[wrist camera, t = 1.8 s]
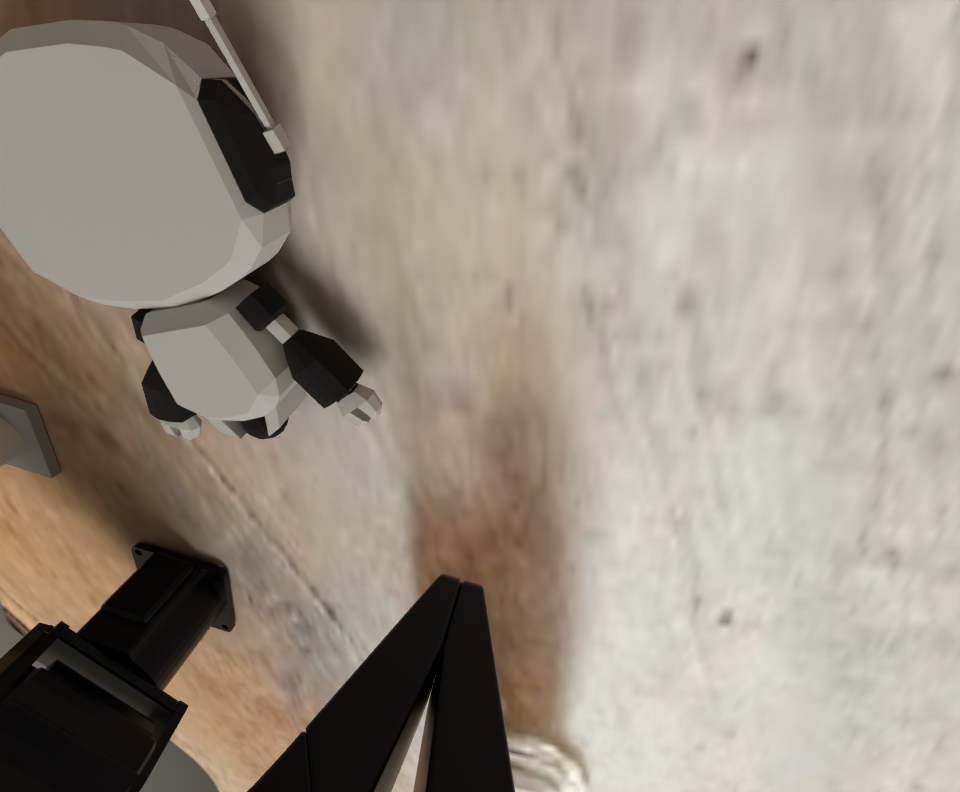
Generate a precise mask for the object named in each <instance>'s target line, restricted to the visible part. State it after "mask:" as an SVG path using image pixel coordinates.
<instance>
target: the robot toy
mask: <svg viewBox="0 0 960 792" xmlns="http://www.w3.org/2000/svg"><path fill="white" fill-rule="evenodd" d="M190 2H191V4H192V5H193V7H194V9H195V11H196V12H197V14H198V16H199V18H200V19H201V21H203V20H204V21H205V23H206V25H207V27H208V28H209V30H210V32H211V34H212V35H213V37H214V39H215V41H216V42H217V44H218V46H219V48H220V49H221V51H222V53H223V55H224V56H225V58H226V60H227V62H228V63H229V65H230V67H231V69H232V70H233V72H234V73H233V72H232V71H231V70H230V69H229V68H228V66H227V65H226V64H225V63H224V62H223V61H222V60H221V58H220V57H219V56H218V55H217V54H216V53H215V52H214V50H213V49H212V48H211V47H210V46H209V45H208V44H207V43H204V42H202V41H200V40H198V39H196V38H194V37H192V36H190V35H188V34H186V33H183V32H181V31H179V30H177V29H175V28H171V27H166V26H161V25H156V24H142V23H128V22H114V21H94V20H65V21H59V22H52V23H46V24H40V25H33V26H27V27H20V28H14V29H10V30H9V31H8V32H6V33H5V34H4V35H3V36H2V37H1V38H0V228H1V230H2V231H3V232H4V234H5V235H6V236H7V238H8V239H9V240H10V242H11V243H12V244H13V246H14V247H15V248H16V250H17V251H18V252H19V254H20V255H21V256H22V258H23V259H24V260H25V262H26V263H27V264H28V266H29V267H30V268H31V270H32V271H33V272H35V273H37V274H39V275H40V276H42V277H44V278H46V279H48V280H50V281H51V282H53V283H55V284H57V285H59V286H60V287H62V288H64V289H66V290H68V291H69V292H71V293H73V294H75V295H78V296H80V297H83V298H85V299H88V300H91V301H93V302H96V303H100V304H104V305H109V306H116V307H124V308H132V309H139V310H138V311H137V312H136V313H135V314H134V315H133V316H131V318H132V322H133V325H134V329H135V333H136V337H137V339H138V340H140V341H141V342H143V343H145V344H146V347H147V349H148V351H149V353H150V356H151V358H152V362H151V364H150V366H149V367H148V370H147V372H146V374H145V376H144V379H143V381H142V387H143V390H144V394H145V397H146V401H147V405H148V408H149V412H150V414H151V415H153V416H154V417H156V418H157V419H160V420H161V421H160V423H161V424H162V426H163V428H164V429H165V431H166V432H167V433H169V434H171V435H174V436H177V437H179V436H180V435H181V434H182V436H183V437H184V439H188V440H192V439H194V438H196V437H198V436H199V435H200V432H201V424H202V420H201V419H200V418H199V417H198V416H197V415H196V414H199V415H201V416H203V417H205V418H206V419H207V420H208V421H209V422H211V423H212V424H213V425H214V426H215V427H216V428H217V429H218V430H219V431H220V432H221V433H223V434H226V435H230V436H233V437H236V438H239V439H241V438H242V437H243V436H244V435H245V434H246V433H248V434H249V435H251V436H254V437H256V438H258V439H267V438H273V437H276V436H277V435H279V434H280V433H281V432H283V431H284V429H285V427H286V425H287V423H288V418H289V416H290V415H291V414H292V413H293V412H294V410H295V409H296V408H297V407H298V406H299V404H300V403H301V402H302V401H303V400H304V399H305V397H306V392H307V393H309V394H310V395H311V396H312V397H313V398H314V399H315V400H316V401H317V402H318V403H319V404H320V405H321V406H322V407H323V408H326V407H328V406H330V405H331V404H333V403H334V402H336V401H337V403H338V406H339V408H340V411H341V413H342V416H343V417H344V418H346V419H347V420H349V421H351V422H352V423H354V424H355V425H365V424H366V423H368V422H369V420H370V419H371V418H372V419H374V418H376V417H378V415H379V414H380V413H381V408H382V402H381V401H380V399H379V398H378V396H377V394H376V393H375V391H374V390H372V389H370V388H367V387H365V386H363V385H360V384H358V383H356V382H357V381H358V380H359V378H360V376H361V374H362V373H363V370H362V369H361V368H360V367H359V366H358V365H357V364H356V363H355V362H354V360H353V359H352V358H351V357H350V356H349V355H348V354H347V353H346V352H345V351H344V350H343V349H342V348H341V347H340V346H339V345H338V344H337V343H336V342H335V341H334V340H332V339H329V338H326V337H323V336H320V335H317V334H315V333H311V332H308V331H304V330H300V329H298V328H297V327H296V326H295V325H294V324H293V323H292V322H291V321H290V320H289V319H288V317H287V316H286V315H285V314H284V312H285V311H286V309H287V304H288V302H287V301H286V300H285V299H284V298H283V297H282V296H281V295H280V294H279V293H278V292H277V291H276V290H275V289H274V288H273V287H272V286H271V285H270V284H269V283H268V282H267V283H265V284H263V285H262V286H260V287H259V286H257V285H255V284H253V283H251V282H249V281H247V280H245V279H241V278H243V277H245V276H246V275H248V274H249V273H251V272H253V271H254V270H256V269H257V268H259V267H260V266H262V265H263V264H265V263H266V262H268V261H269V260H270V259H272V258H273V257H274V256H275V255H276V254H277V253H278V252H279V250H280V249H281V247H282V245H283V243H284V242H285V240H286V238H287V236H288V235H289V233H290V231H291V227H290V199H292V198H293V197H294V196H295V192H294V187H293V182H292V176H291V167H290V161H289V158H288V156H287V154H286V151H285V150H286V149H287V148H288V147H289V146H290V145H291V142H290V140H289V138H288V136H287V135H286V133H285V131H284V129H283V127H282V125H281V124H280V123H277V124H275V123H274V121H273V119H272V117H271V115H270V112H269V111H268V110H267V108H266V106H265V105H264V103H263V101H262V99H261V97H260V95H259V94H258V92H257V90H256V88H255V86H254V85H253V83H252V81H251V79H250V77H249V76H248V74H247V72H246V70H245V68H244V67H243V65H242V63H241V61H240V59H239V58H238V56H237V54H236V52H235V50H234V48H233V47H232V45H231V43H230V41H229V39H228V38H227V36H226V34H225V32H224V30H223V29H222V27H221V25H220V23H219V21H218V20H217V18H216V16H215V15H216V14H217V13H216V11H215V9H214V7H213V5H212V4H211V2H210V0H190ZM305 391H306V392H305Z"/></svg>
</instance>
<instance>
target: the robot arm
mask: <svg viewBox="0 0 960 792" xmlns="http://www.w3.org/2000/svg"><path fill="white" fill-rule="evenodd" d="M132 553H133V557H134V560H135V564H136V567H137V570H136V571H135V572H134V573H133V574H132V575H131V576H130V577H129V578H128V579H127V580H126V581H125V582H124V583H123V584H122V585H121V586H120V587H119V588H118V589H117V590H116V591H115V592H114V593H113V594H112V595H111V596H110V597H109V598H108V599H107V600H106V601H105V602H104V603H103V604H102V606H101V609H100V610H99V611H98V612H97V613H96V614H95V615H94V616H93V617H92V618H91V619H90V620H89V621H88V622H87V623H86V624H85V625H84V626H83V627H82V628H81V629H80V630H79V631H78V632H77V633H75V632H74V631H72V630H71V629H69V627H70V626H68V625H67V624H65V623H64V622H62V621H61V622H60V623H58V624H57V625H56V626H55V627H53V626H52V625H47V624H43V623H39V624H38V625H36V626H35V627H34V628H33V629H32V630H31V631H30V632H29V633H28V634H27V635H26V636H25V637H24V638H22V639H21V640H20V641H19V642H18V643H17V644H16V645H15V646H14V647H13V648H12V649H10V650H9V651H8V652H7V653H6V654H5V655H4V656H3V657H2V658H1V659H0V792H139V791H140V789H141V788H142V787H143V785H144V783H145V782H146V780H147V778H148V777H149V775H150V773H151V771H152V770H153V768H154V766H155V764H156V763H157V761H158V759H159V757H160V756H161V754H162V752H163V750H164V748H165V747H166V745H167V743H168V741H169V740H170V738H171V736H172V734H173V733H174V731H175V729H176V727H177V726H178V724H179V722H180V720H181V718H182V717H183V715H184V713H185V711H186V710H187V708H188V705H187V704H185V703H184V702H182V701H177V700H176V699H174V698H173V697H171V696H170V695H168V694H167V693H165V692H164V691H163V690H164V689H165V687H166V686H167V685H168V683H169V682H170V681H171V679H172V678H173V677H174V675H175V674H176V673H177V671H178V670H179V669H180V667H181V666H182V665H183V663H184V662H185V661H186V659H187V658H188V656H189V655H190V654H191V652H192V651H193V650H194V648H195V647H196V646H197V644H198V643H199V642H200V640H201V639H202V638H203V636H204V635H205V634H206V632H207V631H208V630H209V628H210V627H214V628H218V629H221V630H224V631H227V632H230V631H232V629H233V628H234V626H235V618H234V611H233V604H232V597H231V590H230V583H229V576H228V573H227V572H226V571H225V570H224V569H222V568H219V567H216V566H213V565H210V564H207V563H204V562H200V561H197V560H194V559H191V558H188V557H185V556H182V555H178V554H175V553H172V552H169V551H166V550H163V549H160V548H157V547H153V546H150V545H147V544H144V543H140V542H139V543H137V544H136V545H135V546H134V547H133V548H132ZM460 586H461V587H460ZM458 593H459V594H458ZM36 660H37V661H38V662H40V663H42V664H43V665H45V666H46V667H47V668H46V669H43V668H38V669H37V668H35V667H34V666H32V664H33V663H34V662H35V661H36ZM437 668H438V669H437ZM435 675H436V676H435ZM434 679H435V680H434ZM433 682H434V683H433ZM432 686H433V687H432ZM431 689H432V691H431ZM430 692H431V695H430ZM429 695H430V699H429ZM428 699H429V704H428V709H427V714H426V720H425V726H424V732H423V738H422V744H421V750H420V756H419V762H418V768H417V773H416V779H415V785H414V791H413V792H515V788H514V781H513V775H512V768H511V762H510V755H509V749H508V742H507V736H506V729H505V723H504V716H503V710H502V703H501V696H500V690H499V683H498V677H497V670H496V664H495V657H494V651H493V644H492V638H491V631H490V625H489V618H488V611H487V605H486V598H485V592H484V589H483V587H482V586H481V585H478V584H475V583H472V582H469V581H463V582H462V584H461V580H460V579H459V578H456V577H452V576H449V575H446V574H441V575H440V576H438V577H437V579H436V580H435V581H434V582H433V583H432V584H431V585H430V587H429V588H428V589H427V590H426V591H425V592H424V593H423V595H422V596H421V597H420V598H419V599H418V600H417V601H416V603H415V604H414V605H413V606H412V607H411V608H410V609H409V611H408V612H407V613H406V614H405V615H404V616H403V617H402V619H401V620H400V621H399V622H398V623H397V624H396V625H395V627H394V628H393V629H392V630H391V631H390V632H389V633H388V635H387V636H386V637H385V638H384V639H383V640H382V641H381V643H380V644H379V645H378V646H377V647H376V648H375V649H374V651H373V652H372V653H371V654H370V655H369V656H368V657H367V659H366V660H365V661H364V662H363V663H362V664H361V665H360V667H359V668H358V669H357V670H356V671H355V672H354V673H353V675H352V676H351V677H350V678H349V679H348V680H347V681H346V683H345V684H344V685H343V686H342V687H341V688H340V689H339V691H338V692H337V693H336V694H335V695H334V696H333V697H332V699H331V700H330V701H329V702H328V703H327V704H326V705H325V707H324V708H323V709H322V710H321V711H320V712H319V713H318V715H317V716H316V717H315V718H314V719H313V720H312V721H311V723H310V724H309V725H308V726H307V727H306V732H302V733H301V734H300V735H299V736H298V737H297V738H296V739H295V740H294V742H293V743H292V744H291V745H290V746H289V747H288V748H287V750H286V751H285V752H284V753H283V754H282V755H281V756H280V757H279V758H278V759H277V761H276V762H275V763H274V764H273V765H272V766H271V767H270V768H269V769H268V770H267V771H266V772H265V774H264V775H263V776H262V777H261V778H260V779H259V780H258V781H257V782H256V783H255V784H254V785H253V786H252V787H251V788H250V789H249V790H248V791H247V792H391V791H392V788H393V786H394V784H395V781H396V779H397V776H398V774H399V771H400V769H401V766H402V764H403V761H404V759H405V756H406V754H407V752H408V749H409V747H410V744H411V742H412V739H413V737H414V734H415V732H416V729H417V727H418V724H419V722H420V720H421V717H422V715H423V712H424V709H425V707H426V704H427V701H428Z"/></svg>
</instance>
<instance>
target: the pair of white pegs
mask: <svg viewBox="0 0 960 792" xmlns="http://www.w3.org/2000/svg"><path fill="white" fill-rule="evenodd" d="M4 464H9V465H12V466H15V467H18V468H21V469H25V470H28V471H31V472H34V473H37V474H41V475H44V476H47V477H50V478H53V477H54V476H56V475H57V474H58V473H60V472H61V470H60V467H59V465H58V462H57V459H56V456H55V454H54V451H53V448H52V446H51V443H50V440H49V437H48V435H47V432H46V429H45V427H44V424H43V421H42V418H41V416H40V413H39V410H38V408H37V405H35V404H32V403H28V402H25V401H22V400H18V399H15V398H12V397H8V396H5V395H2V394H0V467H1V466H2V465H4Z"/></svg>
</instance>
